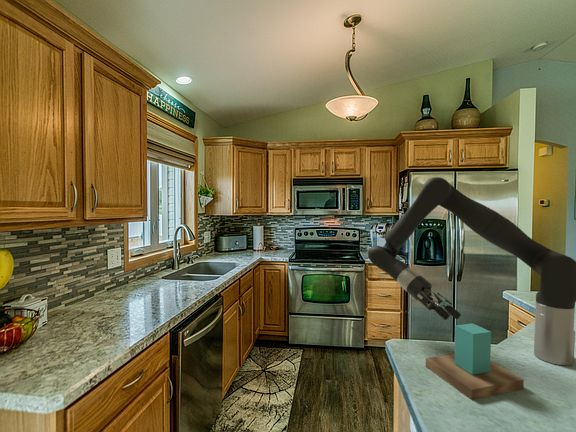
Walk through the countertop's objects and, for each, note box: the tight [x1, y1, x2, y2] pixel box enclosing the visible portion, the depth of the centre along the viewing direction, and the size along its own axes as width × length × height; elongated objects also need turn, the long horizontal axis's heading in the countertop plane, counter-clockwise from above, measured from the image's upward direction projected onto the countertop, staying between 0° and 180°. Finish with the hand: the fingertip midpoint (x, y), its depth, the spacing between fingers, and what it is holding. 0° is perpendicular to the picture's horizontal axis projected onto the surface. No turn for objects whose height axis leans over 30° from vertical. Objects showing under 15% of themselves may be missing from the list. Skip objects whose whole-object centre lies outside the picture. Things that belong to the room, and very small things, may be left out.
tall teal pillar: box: [454, 322, 492, 375], centre depth 85 cm, size 6×6×11 cm
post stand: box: [425, 353, 525, 400], centre depth 85 cm, size 17×16×12 cm
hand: (453, 317), depth 96 cm, fingers open, 8 cm apart
